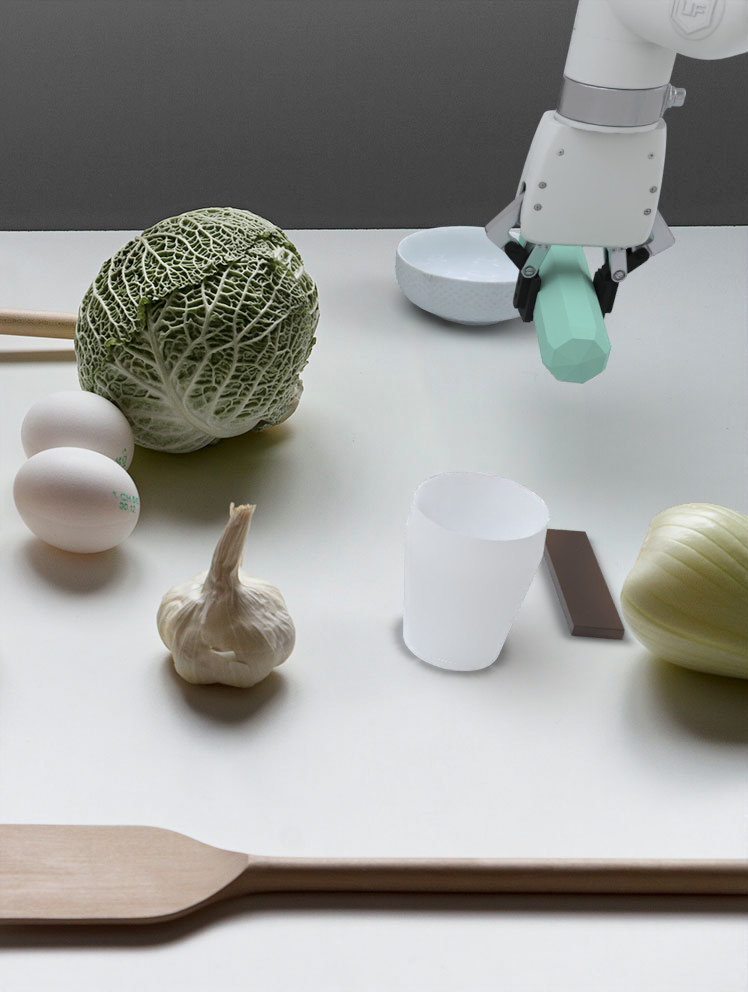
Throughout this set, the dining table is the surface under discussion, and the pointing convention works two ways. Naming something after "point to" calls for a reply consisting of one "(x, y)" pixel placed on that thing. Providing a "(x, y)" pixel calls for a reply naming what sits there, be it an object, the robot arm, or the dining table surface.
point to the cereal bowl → (458, 275)
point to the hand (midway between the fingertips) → (559, 315)
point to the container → (569, 317)
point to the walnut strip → (581, 585)
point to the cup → (468, 566)
